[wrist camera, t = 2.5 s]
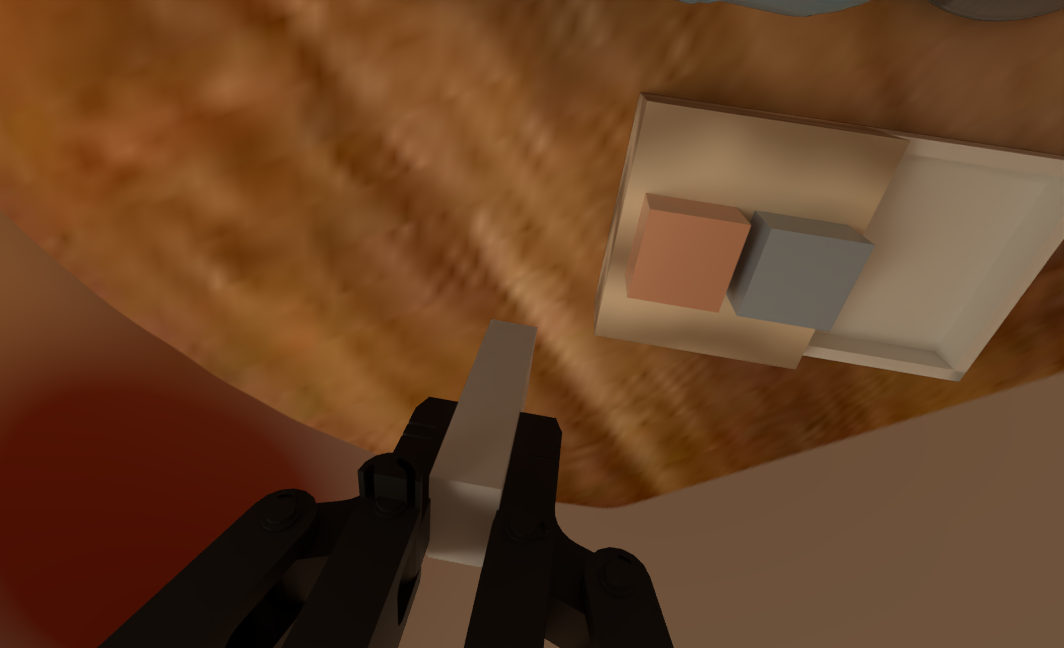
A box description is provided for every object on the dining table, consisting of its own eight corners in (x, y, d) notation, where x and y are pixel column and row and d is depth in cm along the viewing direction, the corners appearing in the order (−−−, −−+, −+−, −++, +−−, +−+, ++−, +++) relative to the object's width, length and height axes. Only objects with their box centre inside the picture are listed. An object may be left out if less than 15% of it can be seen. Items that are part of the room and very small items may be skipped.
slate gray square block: (754, 210, 26) (771, 228, 24) (847, 225, 26) (875, 244, 23) (724, 291, 29) (736, 315, 26) (809, 305, 29) (829, 331, 26)
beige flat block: (640, 92, 28) (647, 100, 24) (862, 125, 28) (910, 140, 24) (594, 299, 36) (594, 335, 31) (771, 329, 35) (795, 369, 31)
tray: (862, 125, 28) (889, 134, 25) (1067, 156, 27) (1115, 168, 25) (771, 329, 35) (785, 352, 33) (932, 356, 35) (959, 381, 32)
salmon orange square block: (645, 192, 26) (649, 208, 24) (736, 207, 26) (751, 225, 24) (624, 274, 29) (627, 297, 26) (707, 288, 29) (718, 312, 26)
